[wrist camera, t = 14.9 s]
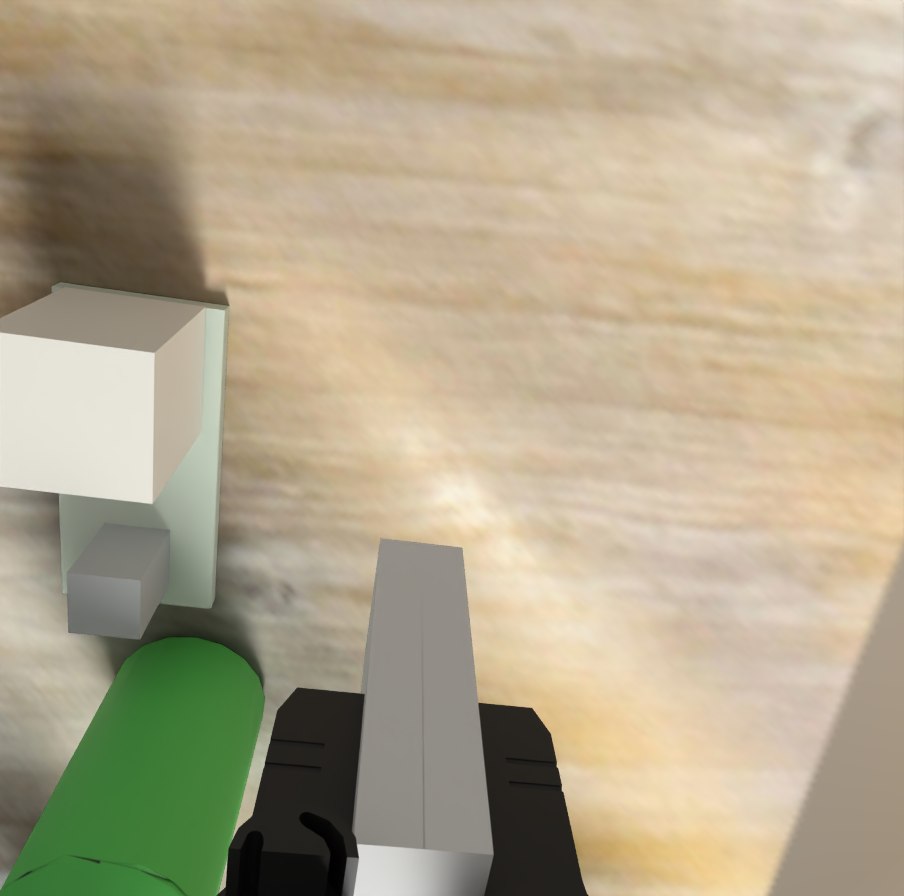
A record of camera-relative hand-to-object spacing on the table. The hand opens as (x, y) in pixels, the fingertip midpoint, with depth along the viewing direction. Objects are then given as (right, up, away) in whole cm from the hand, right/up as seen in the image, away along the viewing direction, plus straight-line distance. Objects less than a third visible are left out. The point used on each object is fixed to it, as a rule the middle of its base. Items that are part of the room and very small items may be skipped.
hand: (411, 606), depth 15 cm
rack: (-15, +3, +27) cm, 31 cm away
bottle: (-15, -11, +33) cm, 38 cm away
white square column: (-14, +7, +24) cm, 29 cm away
